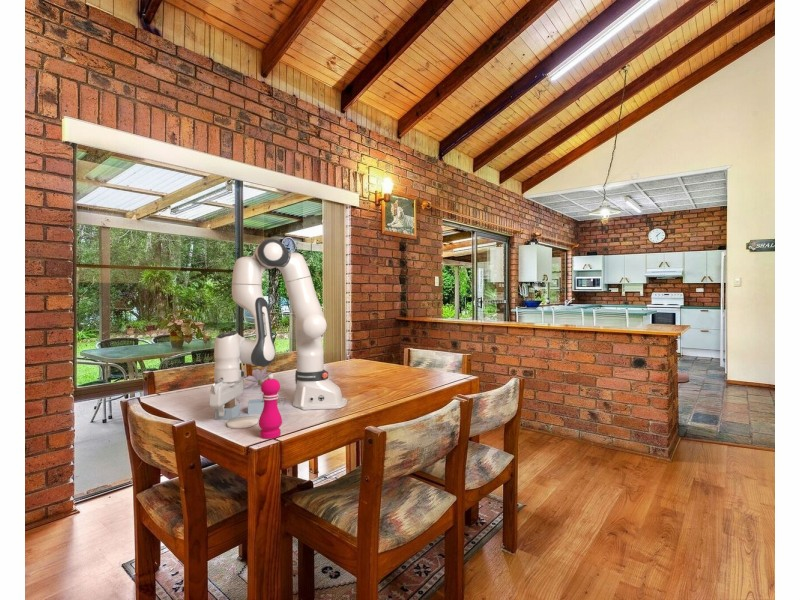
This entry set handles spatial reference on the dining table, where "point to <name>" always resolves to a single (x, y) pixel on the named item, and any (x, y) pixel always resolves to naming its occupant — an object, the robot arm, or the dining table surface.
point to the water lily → (257, 377)
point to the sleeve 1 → (228, 413)
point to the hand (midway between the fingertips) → (227, 412)
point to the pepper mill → (270, 409)
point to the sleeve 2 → (255, 406)
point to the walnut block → (230, 404)
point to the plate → (242, 422)
